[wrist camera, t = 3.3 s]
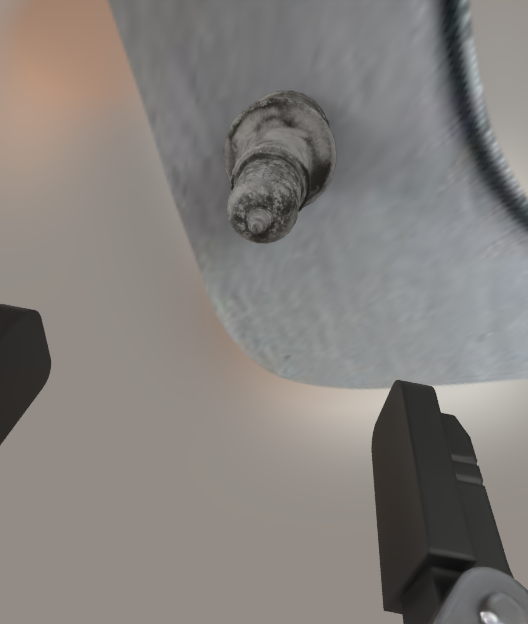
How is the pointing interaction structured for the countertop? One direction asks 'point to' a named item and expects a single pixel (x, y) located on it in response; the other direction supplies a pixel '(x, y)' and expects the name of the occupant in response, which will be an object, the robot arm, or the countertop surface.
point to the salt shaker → (276, 164)
